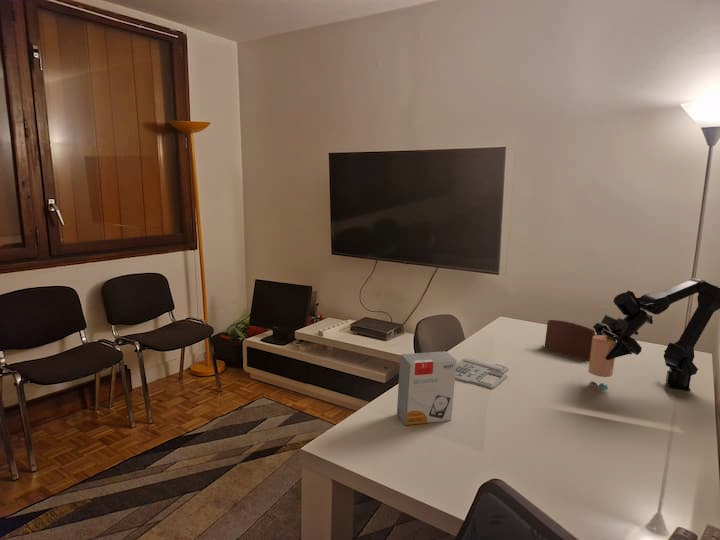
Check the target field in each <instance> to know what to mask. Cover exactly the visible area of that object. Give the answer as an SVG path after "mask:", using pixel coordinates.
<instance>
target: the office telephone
mask: <svg viewBox="0 0 720 540" xmlns="http://www.w3.org/2000/svg"><path fill="white" fill-rule="evenodd" d="M508 371H510V370H509V367H506V365H502V364H498V363H495V362H490V361H487V360H483V359H479V358H475V357H472V356H466V357H465V358H464V359H462V360H461V361H459V362H456V373H455V381H460V382H462V383H465V384H473V385H475V386H476V385H477V386H479V387H480V386H481V387H483V388H487V389H489V390H495V389H496V388H498V386H500V385H501V384H502V383H503V382H504V381H505V380H506V379H508V374H506V373H507V372H508ZM487 375H491V376H495V377H497V378H498V377H499V379H498V380H496V381H495V382H494V383H489V382H486V381H482V379H484V377H486V376H487Z"/></svg>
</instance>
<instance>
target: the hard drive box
mask: <svg viewBox="0 0 720 540" xmlns="http://www.w3.org/2000/svg"><path fill="white" fill-rule="evenodd" d="M457 363H458V361H457V359H456V358H455V357H454V356H453V355H452V354H450V353H449V352H447V351H431V352H430V351H429V352H416V353H403V354H402V353H401V354H400V357H399V371H398V372H399V373H398V375H399V376H398V389H397V390H398V391H397V404H396V405H397V406H396V415H397V416H398V417H399V419H400V420H401V422H402V424H404V426H409V425H410V426H411V425H414V424H417V425H421V424H427V423H443V422H449V421H452V415H453V406H454V396H455V395H454V393H455V383H456V382H455V381H456V380H455V373H456V364H457Z"/></svg>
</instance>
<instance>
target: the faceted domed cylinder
mask: <svg viewBox="0 0 720 540" xmlns="http://www.w3.org/2000/svg"><path fill="white" fill-rule="evenodd" d="M616 344H617V340H616V339H614V338H612V337H609V336H603V335H597V334H596V335H595V336H593V338H592V344H591V352H590V360H588V361H589V363H588V369H587V371H588V373H589V374H591V375H593V376H597V377H599V378H600V377H602V378H610V377H613V373H614V367H615V366H614V364H615V360H616V358H613V359H610V360H606V356H607V355H608V354H609V353H610V352H611V351H612V350H613V349H614V347H615V346H616Z"/></svg>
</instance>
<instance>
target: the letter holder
mask: <svg viewBox="0 0 720 540" xmlns="http://www.w3.org/2000/svg"><path fill="white" fill-rule="evenodd" d="M595 335H597V334H596V331H595V329H592V328H589V327H587V326H584V325H580V324H576V323H573V322H570V321H569V322H568V321H564V320H558V319H557V320H556V319H549V320H547V326H546V333H545V339H544V349H546V350H550V351H554V352H557V353H561V354H565V355H567V356H571V357H574V358H578V359H583V360H586V361H589V360H590V352H591V344H592V338H593V336H595Z"/></svg>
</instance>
